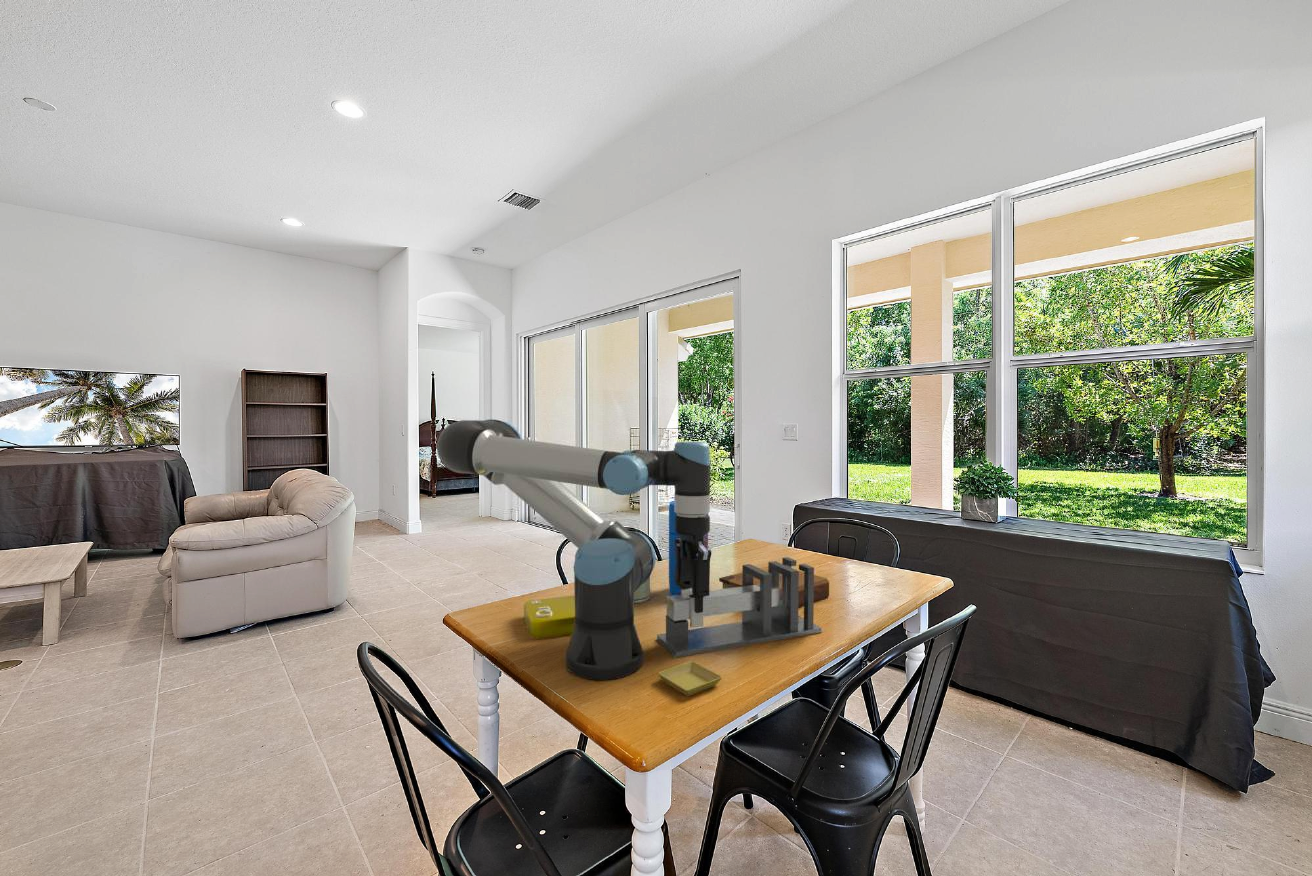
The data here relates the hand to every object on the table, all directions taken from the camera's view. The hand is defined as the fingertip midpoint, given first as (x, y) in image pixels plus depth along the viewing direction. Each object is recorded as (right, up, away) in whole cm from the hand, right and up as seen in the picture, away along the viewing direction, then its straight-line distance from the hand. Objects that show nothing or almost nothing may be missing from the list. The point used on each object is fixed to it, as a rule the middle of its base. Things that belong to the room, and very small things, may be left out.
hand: (691, 622), depth 119 cm
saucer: (-2, -6, -18) cm, 19 cm away
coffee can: (-14, -4, +31) cm, 34 cm away
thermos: (+1, -4, +35) cm, 35 cm away
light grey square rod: (+7, +2, +3) cm, 8 cm away
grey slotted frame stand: (+11, -4, +5) cm, 13 cm away
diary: (+24, -4, +31) cm, 40 cm away
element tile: (-30, -5, +12) cm, 33 cm away
